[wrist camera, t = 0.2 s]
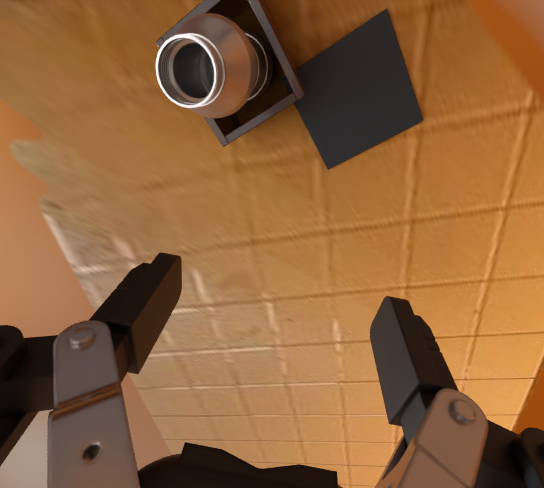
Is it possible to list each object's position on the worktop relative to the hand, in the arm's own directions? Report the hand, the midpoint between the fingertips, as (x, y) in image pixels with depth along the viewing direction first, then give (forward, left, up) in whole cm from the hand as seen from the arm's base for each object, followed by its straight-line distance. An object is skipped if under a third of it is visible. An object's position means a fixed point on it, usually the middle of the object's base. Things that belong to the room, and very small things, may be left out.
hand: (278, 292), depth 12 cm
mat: (0, +7, -30) cm, 31 cm away
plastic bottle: (-9, -2, -30) cm, 32 cm away
